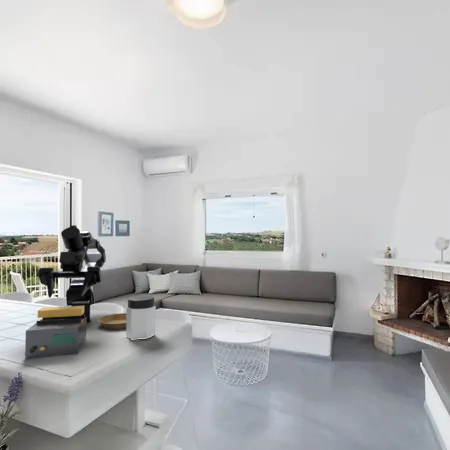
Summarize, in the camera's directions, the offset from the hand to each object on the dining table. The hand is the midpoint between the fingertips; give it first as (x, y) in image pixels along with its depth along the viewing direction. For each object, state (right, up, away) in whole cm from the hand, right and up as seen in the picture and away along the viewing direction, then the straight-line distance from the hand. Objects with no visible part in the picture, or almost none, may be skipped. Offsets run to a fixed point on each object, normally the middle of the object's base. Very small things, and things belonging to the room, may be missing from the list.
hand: (65, 296), depth 99 cm
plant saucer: (+12, -14, +14) cm, 23 cm away
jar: (+24, -13, 0) cm, 27 cm away
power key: (+3, -4, -8) cm, 9 cm away
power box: (+4, -12, -11) cm, 17 cm away
